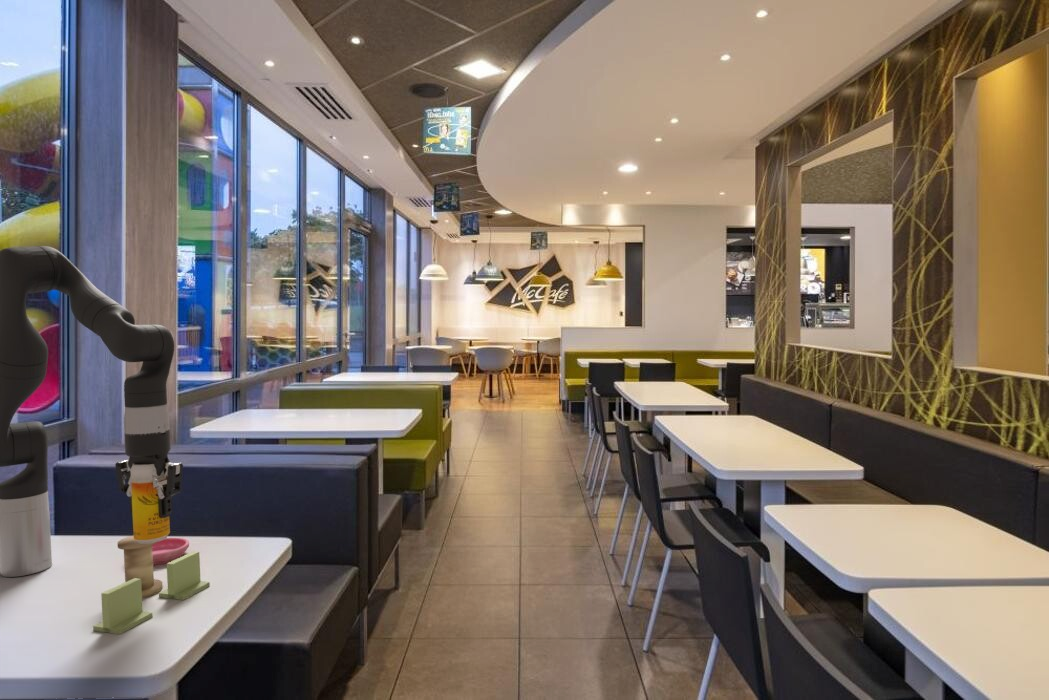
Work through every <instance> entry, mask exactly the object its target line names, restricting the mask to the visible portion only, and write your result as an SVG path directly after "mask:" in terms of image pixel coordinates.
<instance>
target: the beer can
mask: <svg viewBox="0 0 1049 700" xmlns="http://www.w3.org/2000/svg"><path fill="white" fill-rule="evenodd" d="M130 471H131V492H132V513H133V516H132V531H133V535H132V536H134V539H135V540H136V541H137V542H138V543H141V544H147V543H154V542H159V541H162V540H164V539H166V538H168V535H169V534H171V528H170V527H171V526H170V525H171V523H170V516H168V517H166V518H160V517H159V506H158V499H160V498H159V496H158V494H157V491H156V488H153V477H152V475H153V476H155V477H156V479H157V481H158V482H161V481H165V480H166V473H165V474H164V470H163V471H162V473H161V475H160V476H158V475H157V474H156V468H155V466H154V464H149V465H146V464H142V465H141V464H136V465H135V464H134V463H133V466H132V468H131V470H130ZM162 487H163V490H164V491H166V489H165V485H163V486H162Z"/></svg>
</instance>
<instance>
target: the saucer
mask: <svg viewBox="0 0 1049 700" xmlns="http://www.w3.org/2000/svg"><path fill="white" fill-rule="evenodd" d="M189 547H190V542H189V540H188V539H186V538H183V537H167V538H166V539H164V540H162V541H159V542H156V543H155V544H152V552H153V566H156V565H158V566H159V565H162V564H163V565H164V564H167V563H169V562H170V561H173V560H175V559H178V558H179V557H182V556H184V554H185V552H187V550H188V548H189Z"/></svg>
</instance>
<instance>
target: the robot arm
mask: <svg viewBox="0 0 1049 700" xmlns="http://www.w3.org/2000/svg"><path fill="white" fill-rule="evenodd" d="M51 291H58V292H60V293H62V294H65V295H67V296H68V297H69V303H70V305H69V306H70V309H71V312H72V314H73V317H74V318H75V319H76V320H77V321H78V322H79V323H80V324H81V325H82V326H84V327H85V328H87V329H88V330H89V331H91V332H92V333H94V334H96V336H99V338H100V339H101V341H102V342H103V344H104V345H105V347H107V349H108V350H109V352H110V353H111V354H112V355H113V356H114V357H116V359H118V360H120V361H123V362H126V363H141V362H142V364H141V367H140V370H139V372H137V373H135V374H133V375H130V376H128V377H126V378H125V380H124V382H123V398H124V400H123V401H124V414H123V430H124V451H125V453H124V454H125V455H126V456H128V457H129V459H125V460H122V461H117V462H115V473H116V478H117V483H118V484H117V486H118V492H120V494H123V493H125V494H126V496H127V497H128V503H129V512H130V515H131V516H132V517H133V513H132V492H131V471H130V470H131V468H132V466H133V463H134V464H135V465H136V464H141V465H142V464H146V465H149V464H154V466H155V468H156V474H157V475H158V476H160V475H161V473H162V471H163V470H164V474H165V473H166V480H165V481H161V482H158V481H157V479H156V477H155V476H153V475H152V477H153V488H156V491H157V494H158V496H159V498H160V499H158V506H159V517H160V518H166V517H168V516H169V517H170V516H171V515H172V513H173V499H172V498H173V496H175V495H178V494H180V493H181V492H182V487H183V486H182V485H183V472H184V471H183V470H184V464H183V463H182V462H177V463H174V462H171V461H170V459H169V457H168V455H169V452H170V451H171V447H172V446H171V430H170V429H171V427H170V426H171V425H170V413H169V408H168V393H167V389H168V388H167V381H168V378H169V374H170V369H171V365H172V362H173V358H174V353H175V341H174V337H173V334H172V333H171V331H170V330H169V329H168V328H167V327H166V326H164V325H161V324H136V321H135V317H134V315H133V314H132V312H131V311H130V310H128V309H127V308H126V307H125V306H123V305H122V304H120V303H118V302H117V301H115V300H114V299H112V298H111V297H109V296H108V295H107V294H105V293H104V292H103V291H101V290H100V289H98V288H97V287H96V286H95V284H93V283H92V282H91V281H90V280H89V279H88V278H87V276H85V274H84V273H82V271H81V270H79V268H78V267H76V265H74V263H72V262H71V260H70V259H69V258H68V257H66V256H65V255H64V254H63V253H62V252H60V251H59V250H58V249H56V248H55V247H52V246H48V245H34V246H32V245H30V246H29V245H28V246H15V247H5V248H2V249H1V250H0V468H4V467H10V466H11V467H12V466H18V465H25V464H26V466H25V468H24V469H22V470H21V471H20V472H19V473H17V474H16V475H14V476H12V477H10V478H8V479H6V480H4V481H2V482H0V575H1V576H2V577H4V578H5V577H6V578H15V577H23V576H28V575H32V574H33V575H34V574H35V573H40V572H42V571H45V570H47V569H49V568H50V567H51V566H52V565H53V562H52V561H53V559H52V558H53V556H52V538H51V520H50V519H51V518H50V517H51V516H50V500H49V483H48V482H49V481H48V480H49V477H48V476H49V475H48V474H49V473H48V455H49V454H48V453H49V452H48V449H49V448H48V446H49V445H48V432H47V428H46V426H45V425H44V423H42V422H41V421H37V420H36V421H35V420H34V421H25V422H16V423H15V422H14V423H11V422H12V420H13V418H14V416H15V414H16V412H17V411H18V410H19V408H20V407H21V406H22V405H23V404H24V403H25V402H26V401H27V400H28V399H29V398H30V397H31V396H32V395H33V394H34V393H35V392H36V391H37V390H38V389H39V387H40V386H41V384H42V383H43V382H44V380H45V379H46V375H47V370H48V368H47V367H48V361H49V360H48V359H49V347H48V345H47V343H46V341H45V339H44V338H43V336H42V335H41V333H40V332H39V330H37V328H35V326H34V324H33V323H32V322H31V321H30V319H29V317H28V315H27V308H26V307H27V306H26V305H27V303H26V301H27V298H28V294H34V293H35V294H36V293H43V292H44V293H45V292H51ZM163 485H165V489H166V491H164V490H163V487H162V486H163Z"/></svg>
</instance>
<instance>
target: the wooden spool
mask: <svg viewBox="0 0 1049 700" xmlns="http://www.w3.org/2000/svg"><path fill="white" fill-rule="evenodd" d="M155 543H156V542H154V543H147V544H141V543H138V542H137V541H136V540H135V539H134V535H131V536H126V537H124V538H122V539H120V540H118V542H117V548H118V549H119V550H123V559H124V560H123V561H124V583H125V582H127V581H129V580H132V579H134V578H138V579H141V587H142V599H145V598H148V597H151V596H154V595H156V594H159V593H160V592H162V590H163V587H164V585H163V581H162V580H160V579H156V578H155V574H154V565H153V552H152V544H155Z"/></svg>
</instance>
